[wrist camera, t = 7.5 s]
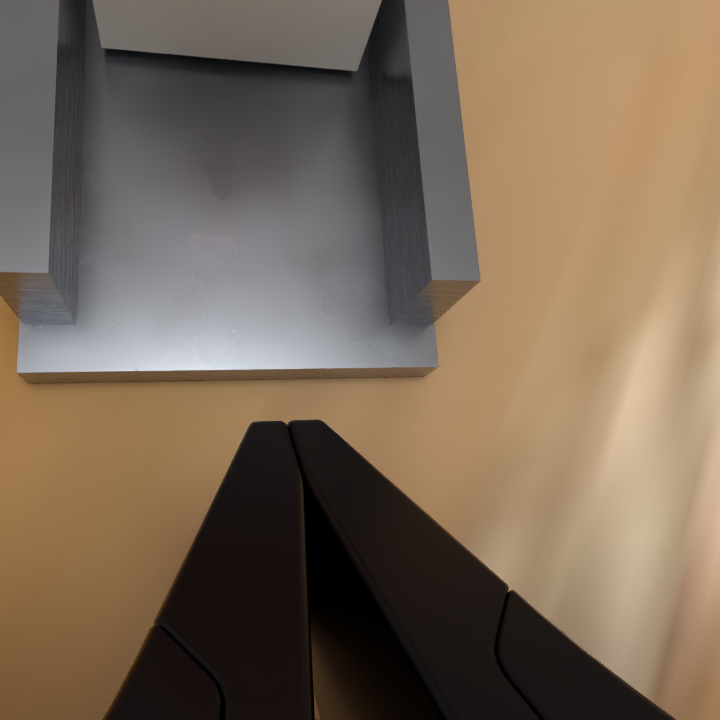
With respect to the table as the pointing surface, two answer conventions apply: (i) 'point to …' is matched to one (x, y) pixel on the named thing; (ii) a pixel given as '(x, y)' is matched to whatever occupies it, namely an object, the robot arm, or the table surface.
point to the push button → (242, 29)
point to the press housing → (229, 204)
